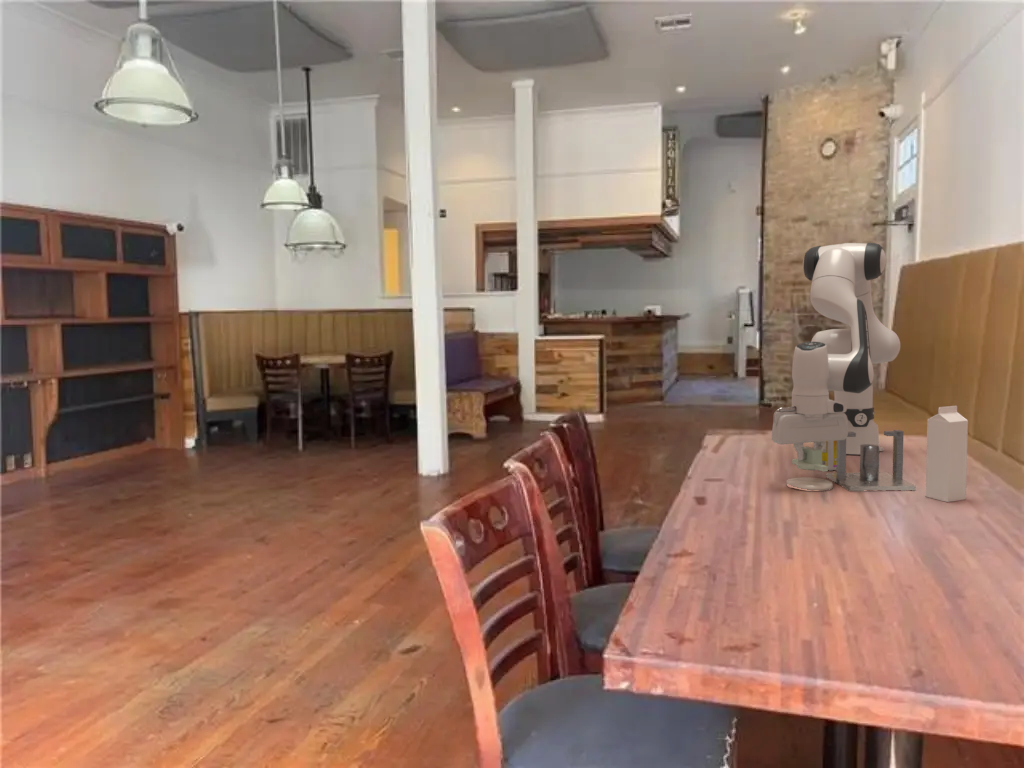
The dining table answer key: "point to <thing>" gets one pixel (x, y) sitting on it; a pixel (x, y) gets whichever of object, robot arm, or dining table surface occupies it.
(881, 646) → the dining table surface
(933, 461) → the milk
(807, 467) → the pale green disc-and-bar piece
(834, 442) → the supplement bottle
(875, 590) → the dining table surface
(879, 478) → the twin post base plate
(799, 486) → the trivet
